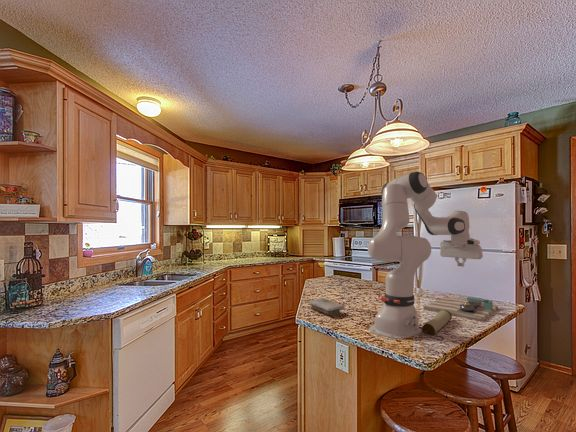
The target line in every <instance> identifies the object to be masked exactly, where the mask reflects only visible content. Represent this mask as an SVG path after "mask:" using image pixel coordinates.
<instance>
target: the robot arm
mask: <svg viewBox="0 0 576 432" xmlns="http://www.w3.org/2000/svg"><path fill="white" fill-rule="evenodd" d="M380 191H381V208H382V209H381V210H382V224H381V227H380V229H379V231H378V233H377V234H375V235H374V236H373V237H371V239H370V240H369V241H368V244H367V252H368V254H369V257H370V258H371V259H372V260H375V261H379V262H399V264H398V266H397V267H396V268H394V269H392V270H390V271H388V272H387V274H386V275H385V293H384V295H383V296H380V302H383V304H382V305H381V306H380V309H379V310H378V312H377V313H376V315H375V317H374V324H372V325H371V326H370V327H369V328H368V332H369V331H370V332H369V333H371V332H372V334H373V333H374V334H373V335H376V334H377V336H379V335H380V336H379V337H382V336H383V337H382V338H386V337H387V339H393V340H399V341H400V340H403V339H407V338H410V337H413V336H417V335H420V334H423V331H422V328H420V325H419V323H420V322H419V312H418V310H417V308H416V307H415V299H416V298H415V295H414V281H415V280H414V279H415V275H416V272H417V270H418V269H419V267H420V266H421V265H422V264H423V263H424V262H425V261H427V260H428V259H429V258H430V256H431V255H432V245H431V243H430V241H429V240H428V239H427V238H426V237H421V236H417V235H397V232H399V231H401V230H403V229H404V228H406V227H407V226H408V225H409V223H410V220H411V219H410V212H409V204H408V202H409V201H408V199H410V200H411V201H412V202H413V209H414V210H415V213H416V215H418V217H419V218H420V220H421V221H422V224H423V225H424V228H425V230H426V231H427V233H428V234H429V235H431V236H450V240H445V239H443V240H441V241H440V243H439V244H440V245H439V246H440V252H439V255H440V256H441V257H442V258H443V257H444V258H454V261H455V262H456V263H457V264H456V265H457V267H462V268H464V267H465V263H466V261H467V260H468V259H469V260H470V259H471V260H481V259H483V249H482V246H481V245H480V244H481V241H480V240H479V239H475V238H472V237H471V235H470V231H469V230H470V217H469V214H468V212H467V211H463V210H454V211H452V212H451V214H450V215H449V216H441V217H438V216H434V215H432V213H431V212H430V210H429V209H430V208H432V207H433V206H435V205H434V204H435V203H436V202H437V193H436V191H435V190H434V188H432V186H431V185H430V184H429V182H428V179H427V177H426V176H425V174H424V173H423V172H420V171H413V172H410V173H408V174H405V175H402V176H399V177H397V178H394V179H393V180H390V181H388V182H386V183H385V184H383V186H382V187H381V190H380ZM460 259H461V260H462V262H460Z"/></svg>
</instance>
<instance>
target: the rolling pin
mask: <svg viewBox="0 0 576 432" xmlns="http://www.w3.org/2000/svg"><path fill="white" fill-rule="evenodd" d="M452 318H453V315H451V313H450V312H449V311H446V310H443V311H440V312H437V314H436V315H434V316H433V318H431V319H429V320H428V321H426V322H423V323H422V327H421V330H422V334H424V335H429V336H434V335H435V334H436V333H438V332H439V331H440V330H441V329H442V328H443V327H444V326H446V324H447V323H448V322H450V321H451V320H452Z"/></svg>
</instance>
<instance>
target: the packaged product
mask: <svg viewBox="0 0 576 432" xmlns="http://www.w3.org/2000/svg"><path fill="white" fill-rule="evenodd" d="M307 303H308V304H310V305H311V309H312V310H315V311H317V312H320V313H323V314H325V315H327V316H339V315H340V314H341V312H340V311H341V310H345V305H344V304H340V303H338V302H335V301H333V300H329V299H326V298H324V297H321V298H317V299H316V298H315V299H311V300H308V301H307Z"/></svg>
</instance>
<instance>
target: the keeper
mask: <svg viewBox="0 0 576 432" xmlns="http://www.w3.org/2000/svg"><path fill="white" fill-rule="evenodd" d="M466 300H468V301H469V300H471V301H477V302H482V303H484V310H488V311H492V310H493V307H492V305H493V300H491V299H484V298H479V297H478V298H477V297H473V296H468V297H466Z"/></svg>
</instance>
